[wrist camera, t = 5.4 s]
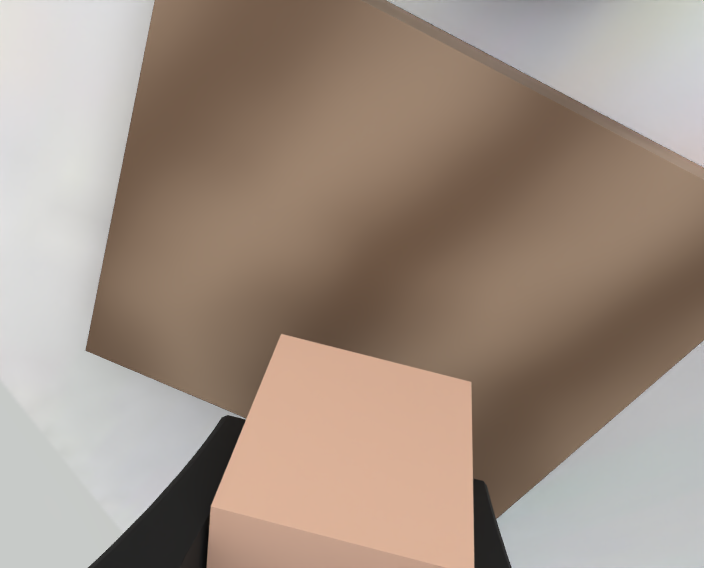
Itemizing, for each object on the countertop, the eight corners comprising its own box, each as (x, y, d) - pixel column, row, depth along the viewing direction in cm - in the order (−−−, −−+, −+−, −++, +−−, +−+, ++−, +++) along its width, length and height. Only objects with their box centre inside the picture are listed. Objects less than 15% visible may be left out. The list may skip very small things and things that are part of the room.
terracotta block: (471, 381, 12) (474, 574, 8) (420, 494, 14) (407, 678, 11) (280, 333, 12) (210, 506, 8) (263, 453, 14) (202, 623, 11)
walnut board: (795, 216, 14) (819, 240, 13) (491, 494, 22) (492, 522, 21) (197, -99, 12) (174, -98, 11) (103, 328, 20) (85, 350, 19)
